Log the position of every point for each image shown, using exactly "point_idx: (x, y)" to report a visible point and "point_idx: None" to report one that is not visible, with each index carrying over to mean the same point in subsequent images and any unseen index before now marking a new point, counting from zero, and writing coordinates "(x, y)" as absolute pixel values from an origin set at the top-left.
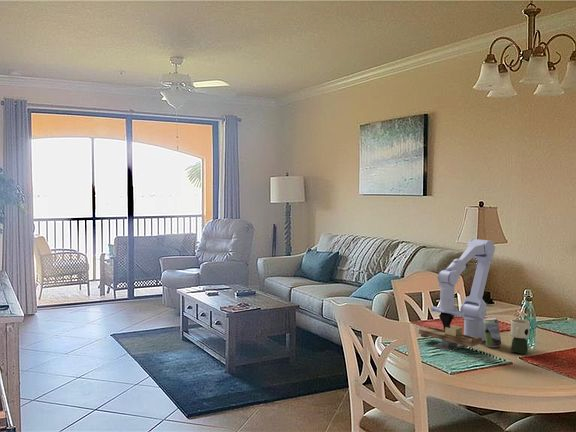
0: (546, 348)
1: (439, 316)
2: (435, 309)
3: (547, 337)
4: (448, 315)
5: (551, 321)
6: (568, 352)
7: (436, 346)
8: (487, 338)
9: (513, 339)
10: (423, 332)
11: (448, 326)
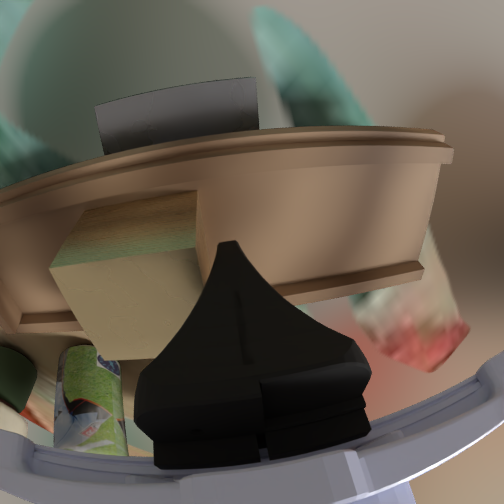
0: (52, 415)
1: (345, 340)
2: (476, 413)
3: (137, 454)
4: (171, 434)
5: None
6: (20, 413)
7: (216, 81)
8: (80, 374)
9: (1, 391)
10: (409, 137)
11: (194, 296)
